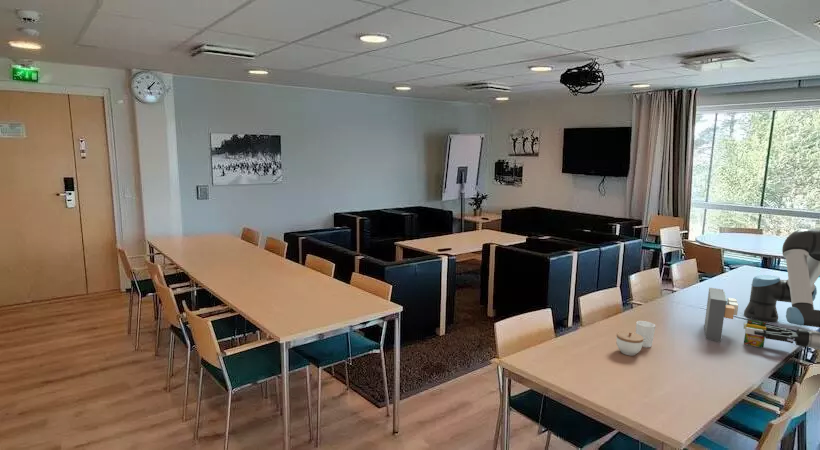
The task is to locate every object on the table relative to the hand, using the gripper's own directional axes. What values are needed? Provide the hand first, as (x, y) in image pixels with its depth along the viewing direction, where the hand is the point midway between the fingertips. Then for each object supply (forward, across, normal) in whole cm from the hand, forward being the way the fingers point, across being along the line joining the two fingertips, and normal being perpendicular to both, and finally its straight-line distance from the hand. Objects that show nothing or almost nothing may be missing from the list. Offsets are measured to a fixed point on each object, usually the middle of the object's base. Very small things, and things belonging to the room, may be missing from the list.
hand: (744, 327), depth 221 cm
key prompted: (+7, 0, +4) cm, 8 cm away
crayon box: (-4, 0, -8) cm, 9 cm away
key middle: (+5, +7, +4) cm, 10 cm away
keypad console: (+12, +8, -8) cm, 16 cm away
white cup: (+40, -29, -8) cm, 50 cm away
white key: (+5, +15, +4) cm, 16 cm away
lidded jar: (+45, -43, -8) cm, 63 cm away
